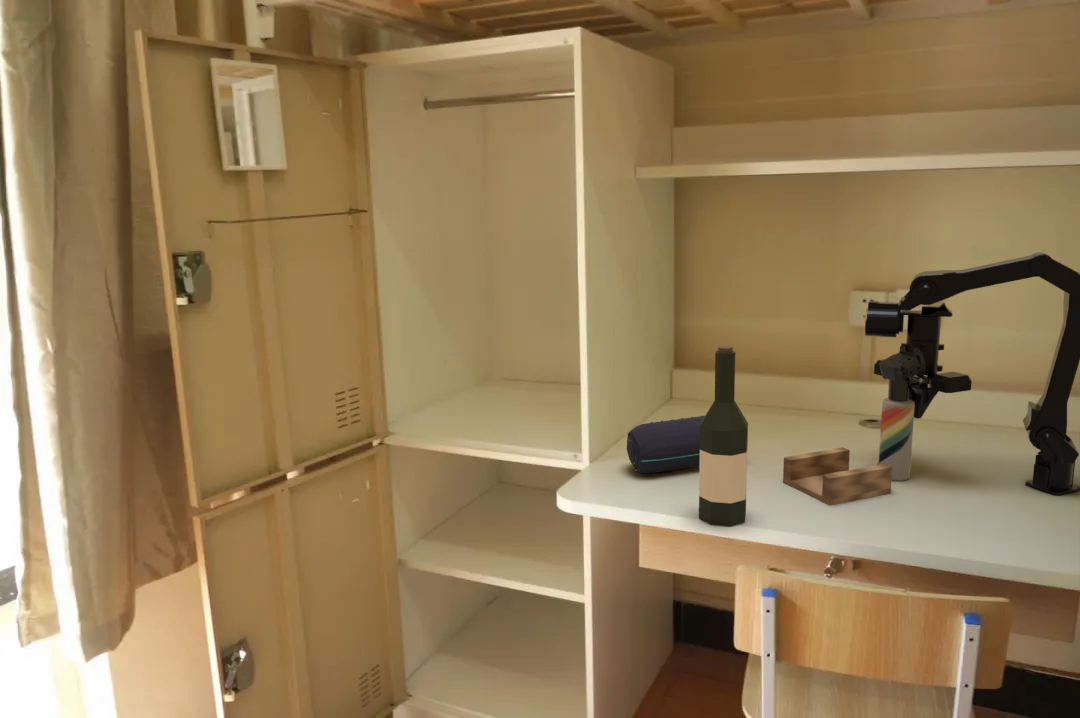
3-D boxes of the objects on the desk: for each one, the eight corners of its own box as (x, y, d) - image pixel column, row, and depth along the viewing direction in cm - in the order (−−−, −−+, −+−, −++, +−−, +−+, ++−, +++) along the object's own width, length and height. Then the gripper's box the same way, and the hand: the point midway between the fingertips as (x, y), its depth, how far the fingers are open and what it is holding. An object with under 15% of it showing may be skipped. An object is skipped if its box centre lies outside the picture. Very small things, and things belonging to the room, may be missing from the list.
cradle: (841, 471, 164) (842, 447, 163) (890, 492, 152) (892, 467, 151) (782, 482, 159) (783, 457, 158) (829, 505, 147) (830, 478, 146)
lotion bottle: (880, 469, 164) (886, 371, 160) (911, 474, 161) (918, 374, 157) (875, 478, 159) (881, 377, 155) (907, 483, 156) (914, 380, 152)
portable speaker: (724, 451, 178) (725, 406, 176) (750, 465, 169) (752, 418, 167) (618, 467, 170) (617, 420, 168) (639, 482, 161) (639, 433, 159)
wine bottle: (712, 504, 149) (714, 340, 143) (755, 515, 144) (760, 345, 137) (689, 519, 142) (690, 348, 136) (733, 530, 137) (737, 354, 131)
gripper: (854, 334, 162) (850, 411, 165) (929, 351, 145) (923, 436, 148) (898, 330, 166) (893, 405, 169) (976, 345, 149) (969, 428, 152)
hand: (917, 418), depth 160 cm, fingers closed
